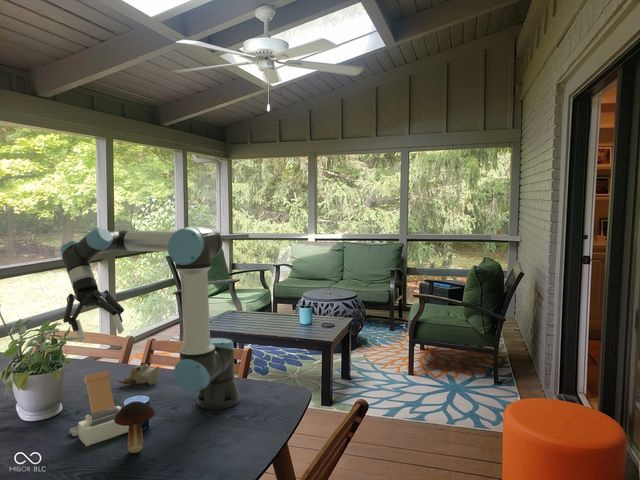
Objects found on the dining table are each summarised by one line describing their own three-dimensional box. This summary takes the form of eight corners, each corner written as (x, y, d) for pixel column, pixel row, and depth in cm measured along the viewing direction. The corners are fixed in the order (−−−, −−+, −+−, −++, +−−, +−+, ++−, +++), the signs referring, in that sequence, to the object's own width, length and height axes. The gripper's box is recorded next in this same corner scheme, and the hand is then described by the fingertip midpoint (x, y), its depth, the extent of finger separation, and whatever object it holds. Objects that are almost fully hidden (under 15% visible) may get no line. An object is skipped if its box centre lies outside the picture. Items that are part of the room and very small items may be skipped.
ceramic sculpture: (152, 367, 179) (116, 367, 181) (153, 388, 179) (118, 389, 181) (164, 358, 189) (130, 359, 191) (166, 379, 190) (132, 379, 192)
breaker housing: (68, 433, 144) (67, 410, 144) (117, 418, 155) (116, 397, 154) (81, 447, 136) (80, 423, 135) (131, 430, 146) (130, 408, 145)
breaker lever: (91, 420, 141) (83, 377, 145) (114, 413, 146) (106, 371, 150) (94, 419, 139) (85, 375, 143) (117, 412, 144) (108, 370, 148)
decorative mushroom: (115, 465, 126) (113, 413, 125) (115, 446, 136) (113, 397, 135) (157, 457, 131) (155, 406, 130) (154, 439, 141) (153, 391, 140)
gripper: (112, 284, 173) (131, 334, 166) (41, 290, 152) (59, 348, 146) (121, 273, 169) (141, 324, 162) (49, 278, 149) (68, 337, 142)
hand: (102, 335), depth 154 cm, fingers open, 13 cm apart
